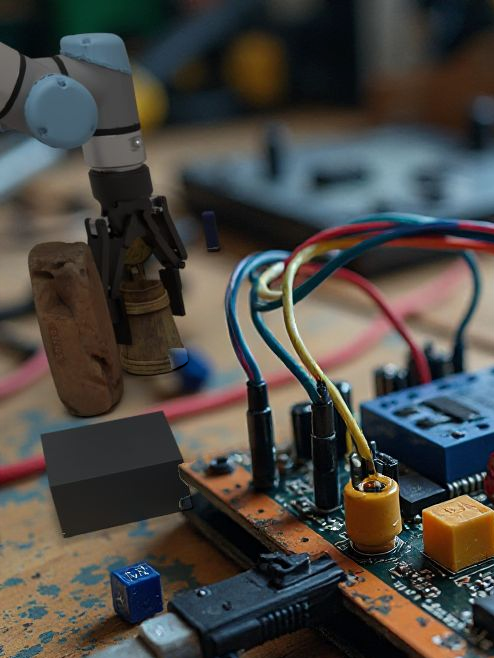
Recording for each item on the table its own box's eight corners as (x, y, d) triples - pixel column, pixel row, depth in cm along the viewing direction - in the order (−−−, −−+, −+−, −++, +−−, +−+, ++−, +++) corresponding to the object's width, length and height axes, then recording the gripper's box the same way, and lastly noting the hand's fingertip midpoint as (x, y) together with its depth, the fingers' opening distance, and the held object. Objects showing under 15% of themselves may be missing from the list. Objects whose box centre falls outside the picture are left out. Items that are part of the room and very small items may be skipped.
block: (70, 388, 141) (31, 238, 131) (129, 382, 142) (95, 233, 132) (57, 423, 132) (14, 265, 122) (120, 417, 133) (83, 259, 123)
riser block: (63, 538, 108) (49, 486, 105) (53, 482, 119) (40, 434, 116) (193, 508, 113) (183, 458, 110) (172, 457, 123) (162, 410, 120)
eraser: (208, 248, 194) (202, 210, 190) (221, 248, 194) (214, 210, 191) (206, 252, 192) (200, 214, 189) (219, 251, 192) (212, 213, 189)
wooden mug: (180, 337, 157) (158, 213, 148) (192, 369, 146) (169, 237, 137) (117, 346, 154) (90, 220, 145) (124, 379, 143) (96, 246, 134)
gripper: (79, 188, 126) (117, 362, 137) (196, 148, 145) (222, 304, 156) (28, 184, 129) (70, 355, 140) (150, 146, 148) (179, 299, 159)
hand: (150, 328), depth 148 cm, fingers open, 11 cm apart
